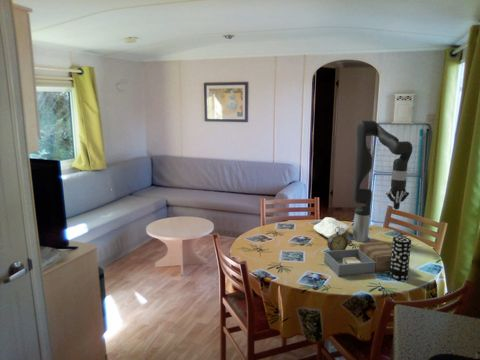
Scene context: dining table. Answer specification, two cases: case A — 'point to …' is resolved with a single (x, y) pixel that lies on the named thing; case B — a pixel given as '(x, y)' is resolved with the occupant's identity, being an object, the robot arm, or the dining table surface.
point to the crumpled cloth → (330, 227)
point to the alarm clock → (337, 242)
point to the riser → (378, 255)
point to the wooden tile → (350, 260)
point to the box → (336, 264)
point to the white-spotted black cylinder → (400, 258)
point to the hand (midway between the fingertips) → (396, 209)
